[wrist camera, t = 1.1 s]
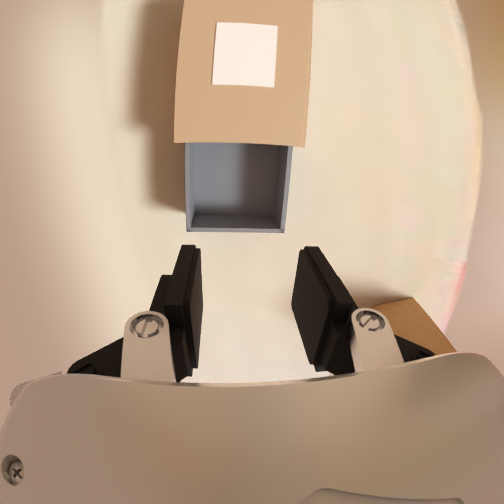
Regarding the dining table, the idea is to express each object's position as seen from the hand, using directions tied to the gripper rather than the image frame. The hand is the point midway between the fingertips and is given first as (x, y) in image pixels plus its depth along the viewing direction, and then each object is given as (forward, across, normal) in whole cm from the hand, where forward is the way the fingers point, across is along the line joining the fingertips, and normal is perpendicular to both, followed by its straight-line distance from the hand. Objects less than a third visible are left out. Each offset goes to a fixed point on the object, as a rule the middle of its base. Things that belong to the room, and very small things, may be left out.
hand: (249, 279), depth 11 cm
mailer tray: (+19, 0, -4) cm, 19 cm away
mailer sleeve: (+19, 0, -12) cm, 23 cm away
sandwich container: (+20, -27, +25) cm, 42 cm away
